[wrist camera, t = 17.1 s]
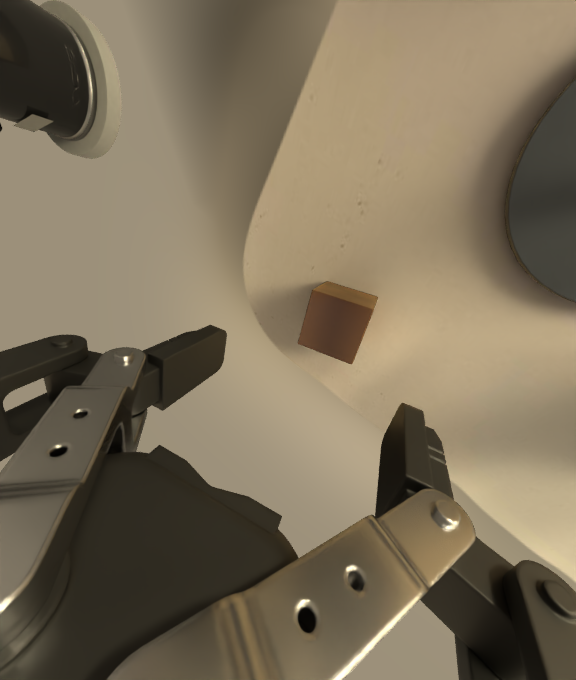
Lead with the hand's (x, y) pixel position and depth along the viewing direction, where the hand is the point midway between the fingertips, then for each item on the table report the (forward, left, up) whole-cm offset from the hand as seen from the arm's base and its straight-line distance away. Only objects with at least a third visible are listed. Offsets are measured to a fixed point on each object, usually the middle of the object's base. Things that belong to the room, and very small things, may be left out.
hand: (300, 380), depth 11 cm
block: (0, 0, -13) cm, 13 cm away
